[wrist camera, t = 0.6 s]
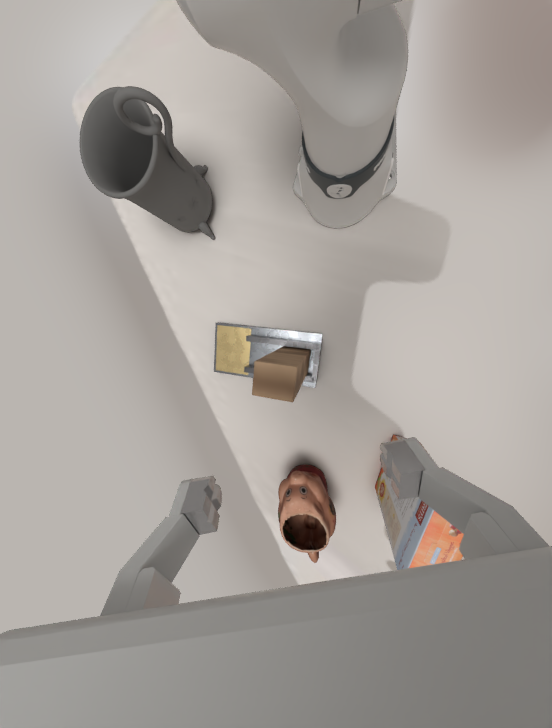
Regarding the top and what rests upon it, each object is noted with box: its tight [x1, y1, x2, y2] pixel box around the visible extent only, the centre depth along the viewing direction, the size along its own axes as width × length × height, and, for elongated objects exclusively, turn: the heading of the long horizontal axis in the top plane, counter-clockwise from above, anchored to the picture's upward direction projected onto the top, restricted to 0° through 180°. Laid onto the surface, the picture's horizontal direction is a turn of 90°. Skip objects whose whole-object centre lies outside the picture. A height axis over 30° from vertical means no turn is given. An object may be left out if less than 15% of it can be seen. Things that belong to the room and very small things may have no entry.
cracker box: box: [375, 435, 464, 570], centre depth 41 cm, size 14×6×21 cm, turn 168°
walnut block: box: [252, 346, 311, 402], centre depth 41 cm, size 5×6×20 cm
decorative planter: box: [278, 465, 336, 563], centre depth 50 cm, size 20×12×14 cm, turn 20°
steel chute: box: [214, 323, 323, 388], centre depth 52 cm, size 12×25×4 cm, turn 85°
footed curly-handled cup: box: [80, 86, 215, 240], centre depth 39 cm, size 19×15×25 cm
